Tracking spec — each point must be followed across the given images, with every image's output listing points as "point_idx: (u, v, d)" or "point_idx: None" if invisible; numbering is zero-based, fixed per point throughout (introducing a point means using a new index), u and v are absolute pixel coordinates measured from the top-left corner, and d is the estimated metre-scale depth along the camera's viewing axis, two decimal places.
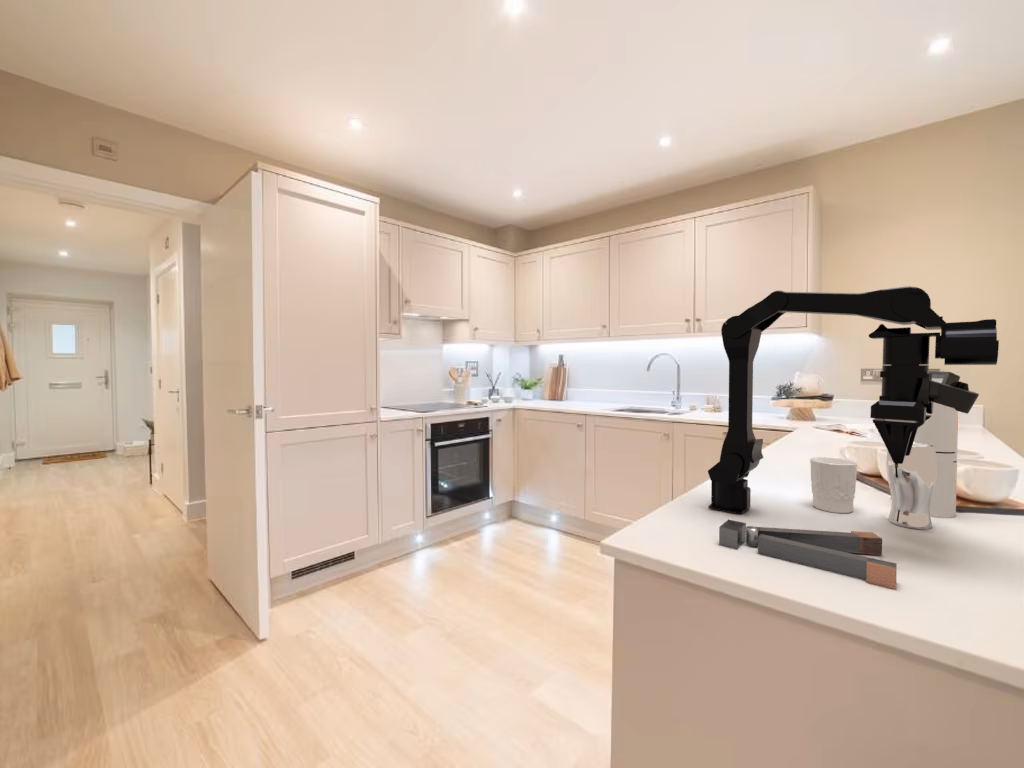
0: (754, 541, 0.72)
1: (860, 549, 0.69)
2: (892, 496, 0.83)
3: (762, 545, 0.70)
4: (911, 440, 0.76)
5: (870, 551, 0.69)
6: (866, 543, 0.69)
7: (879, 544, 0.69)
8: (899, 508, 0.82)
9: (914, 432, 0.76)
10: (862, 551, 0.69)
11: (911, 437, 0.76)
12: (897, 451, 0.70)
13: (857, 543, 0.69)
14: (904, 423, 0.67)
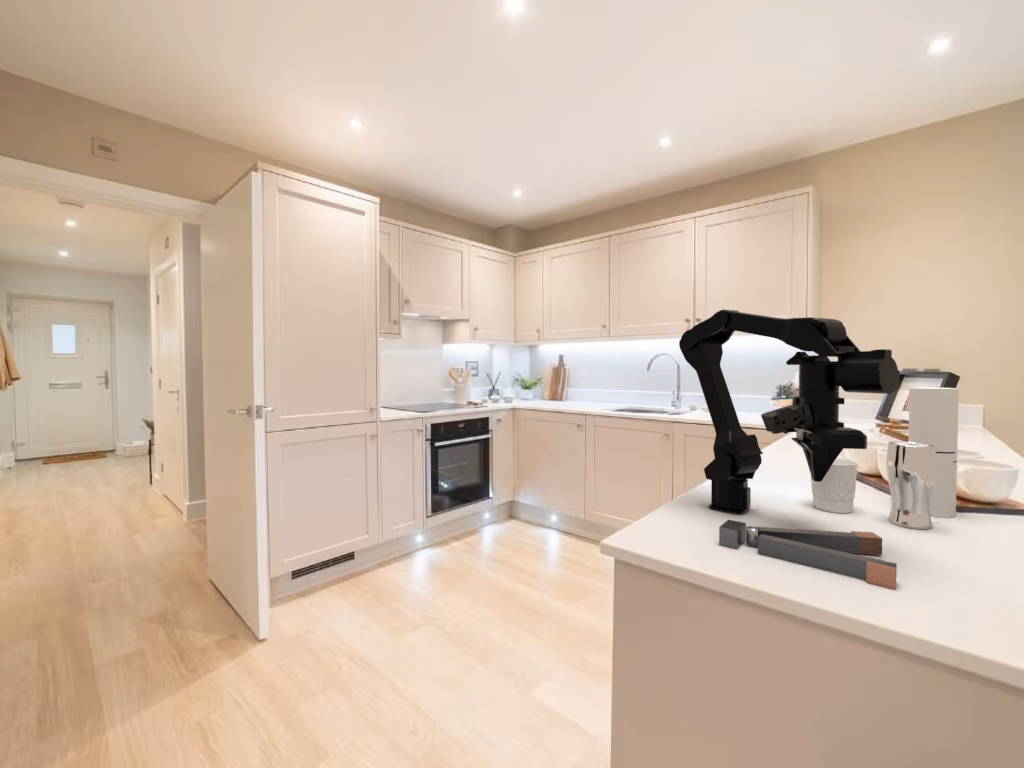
0: (754, 541, 0.72)
1: (860, 549, 0.69)
2: (892, 496, 0.83)
3: (762, 545, 0.70)
4: None
5: (870, 551, 0.69)
6: (866, 543, 0.69)
7: (879, 544, 0.69)
8: (899, 508, 0.82)
9: None
10: (862, 551, 0.69)
11: None
12: None
13: (857, 543, 0.69)
14: None
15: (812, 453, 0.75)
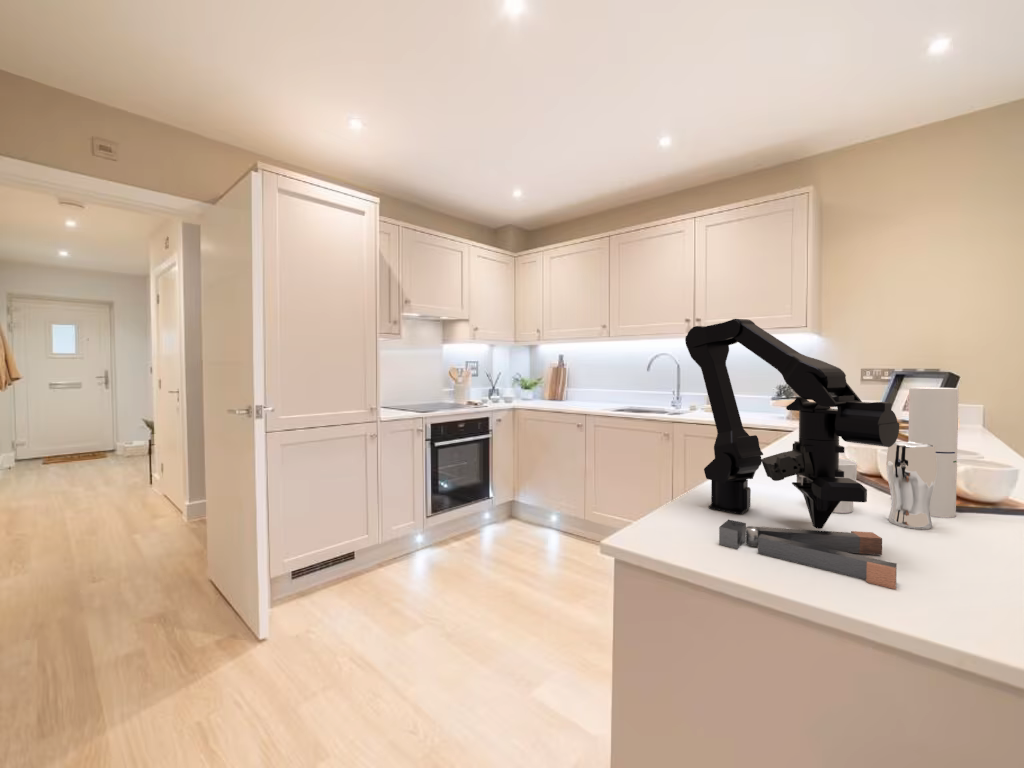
0: (754, 541, 0.72)
1: (860, 549, 0.69)
2: (892, 496, 0.83)
3: (762, 545, 0.70)
4: None
5: (870, 551, 0.69)
6: (866, 543, 0.69)
7: (879, 544, 0.69)
8: (899, 508, 0.82)
9: None
10: (862, 551, 0.69)
11: None
12: None
13: (857, 543, 0.69)
14: None
15: (812, 501, 0.75)
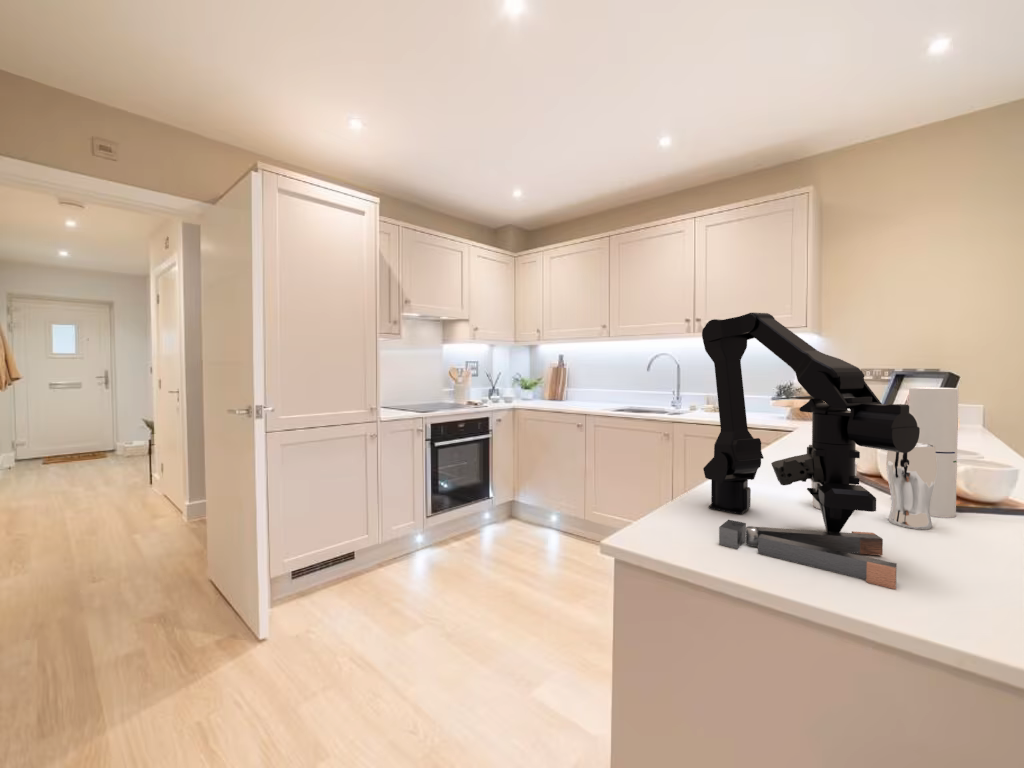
0: (754, 541, 0.72)
1: (860, 549, 0.69)
2: (892, 496, 0.83)
3: (762, 545, 0.70)
4: None
5: (870, 551, 0.69)
6: (866, 543, 0.69)
7: (880, 544, 0.68)
8: (899, 508, 0.82)
9: None
10: (862, 551, 0.69)
11: None
12: None
13: (857, 543, 0.69)
14: None
15: (824, 508, 0.71)
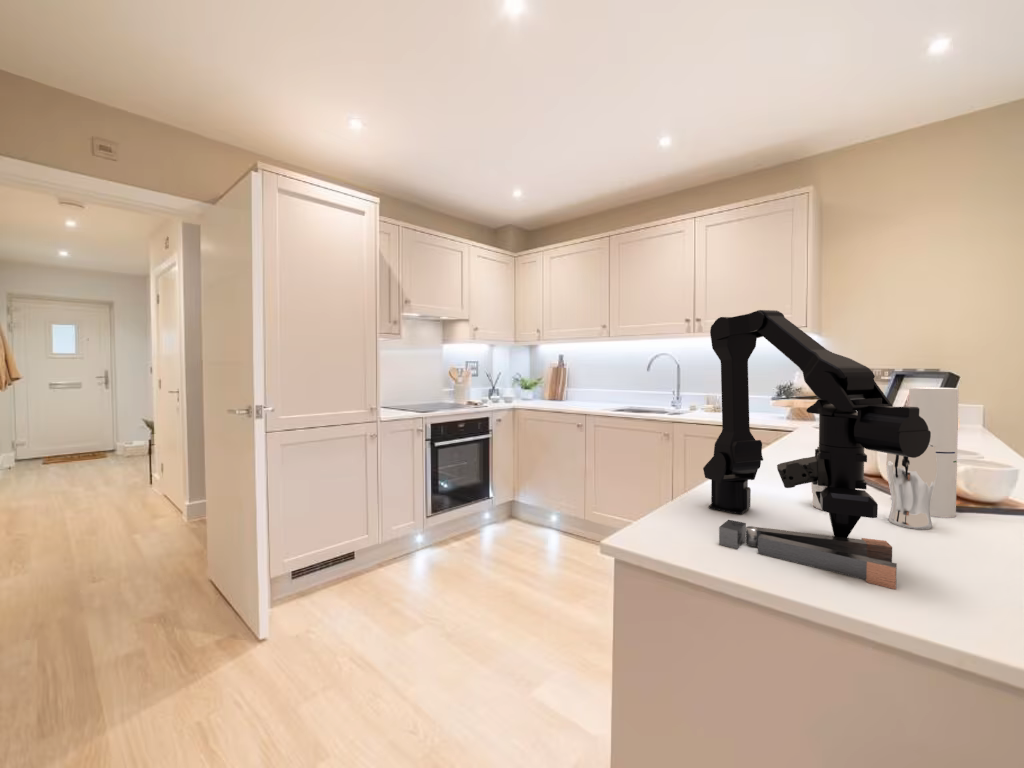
0: (753, 540, 0.72)
1: (867, 556, 0.66)
2: (892, 496, 0.83)
3: (762, 545, 0.70)
4: None
5: (878, 559, 0.66)
6: (874, 551, 0.66)
7: (889, 553, 0.65)
8: (899, 508, 0.82)
9: None
10: None
11: None
12: None
13: (864, 550, 0.67)
14: None
15: None
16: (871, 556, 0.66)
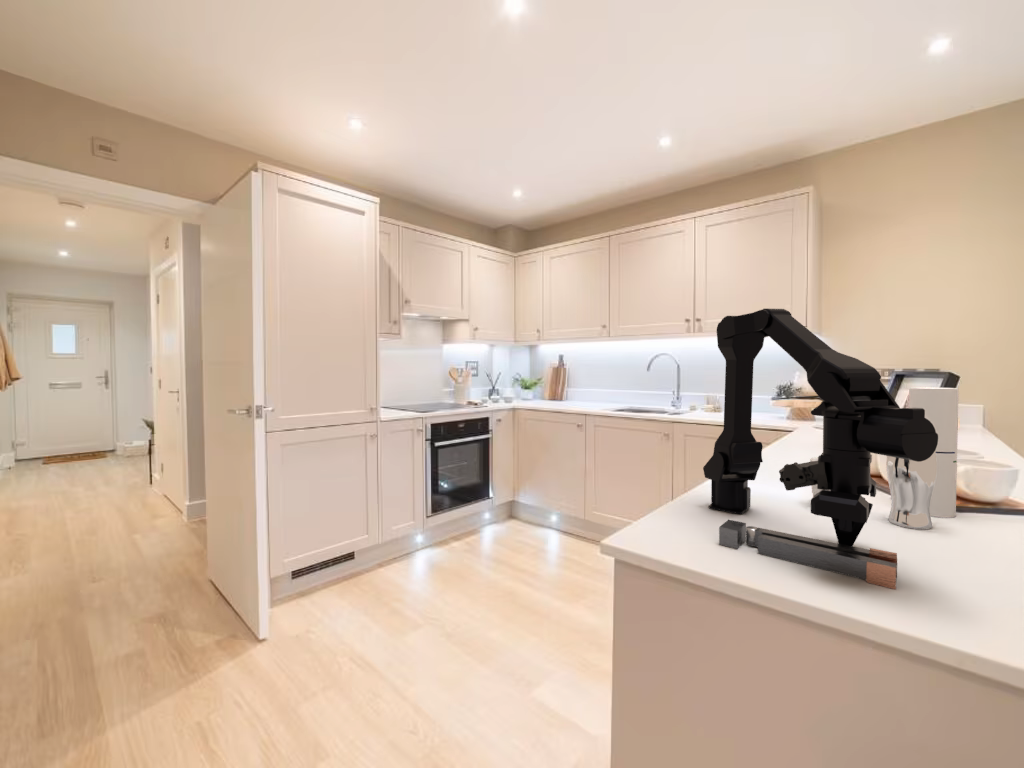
0: (751, 540, 0.73)
1: None
2: (892, 496, 0.83)
3: (762, 545, 0.70)
4: None
5: None
6: None
7: None
8: (899, 508, 0.82)
9: None
10: None
11: None
12: None
13: None
14: None
15: None
16: None
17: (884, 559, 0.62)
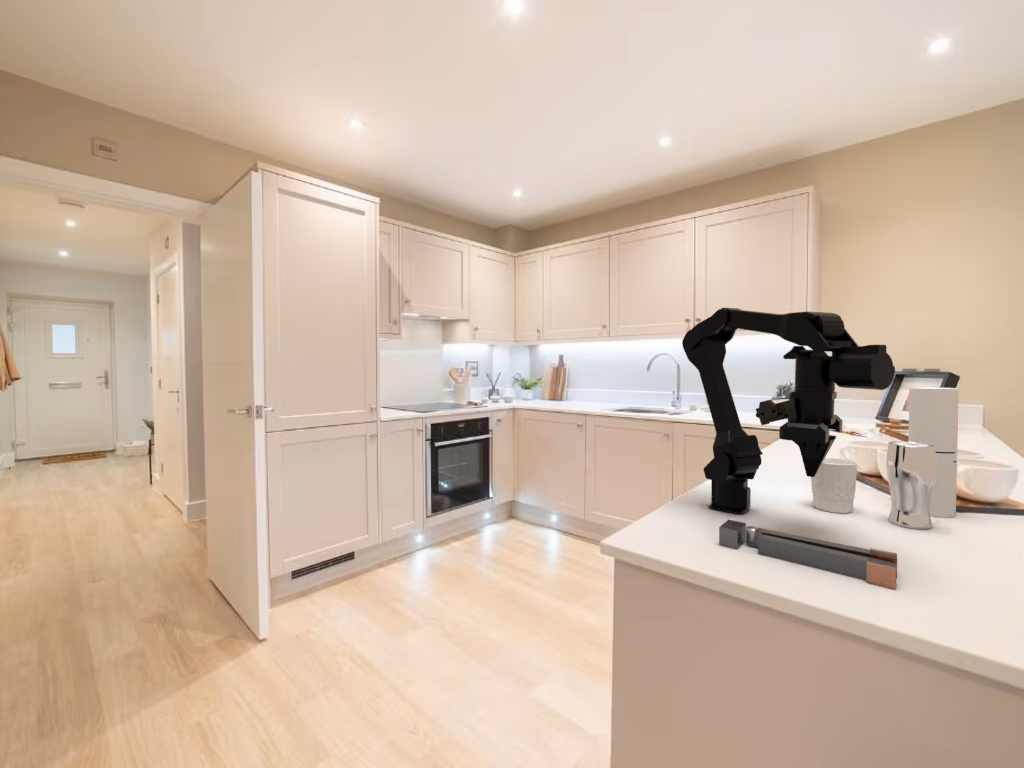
0: (751, 540, 0.73)
1: None
2: (892, 496, 0.83)
3: (762, 545, 0.70)
4: None
5: None
6: None
7: None
8: (899, 508, 0.82)
9: None
10: None
11: None
12: None
13: None
14: None
15: (799, 447, 0.76)
16: None
17: (884, 559, 0.62)
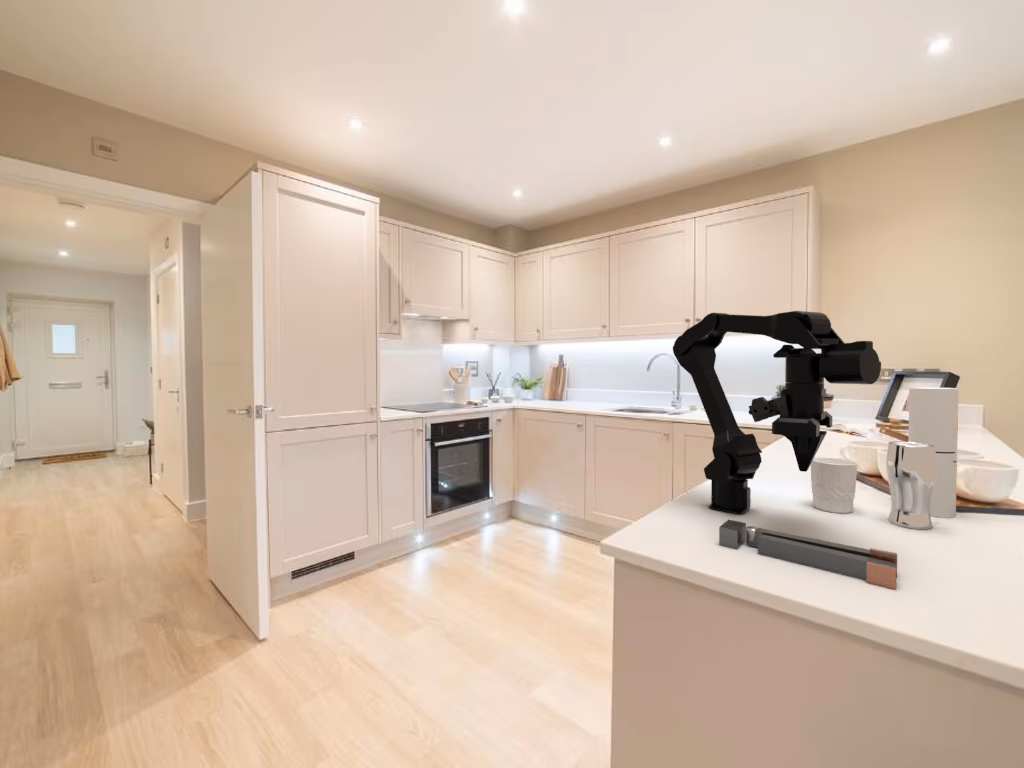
0: (751, 540, 0.73)
1: None
2: (892, 496, 0.83)
3: (762, 545, 0.70)
4: None
5: None
6: None
7: None
8: (899, 508, 0.82)
9: None
10: None
11: None
12: None
13: None
14: None
15: (791, 442, 0.78)
16: None
17: (884, 559, 0.62)
